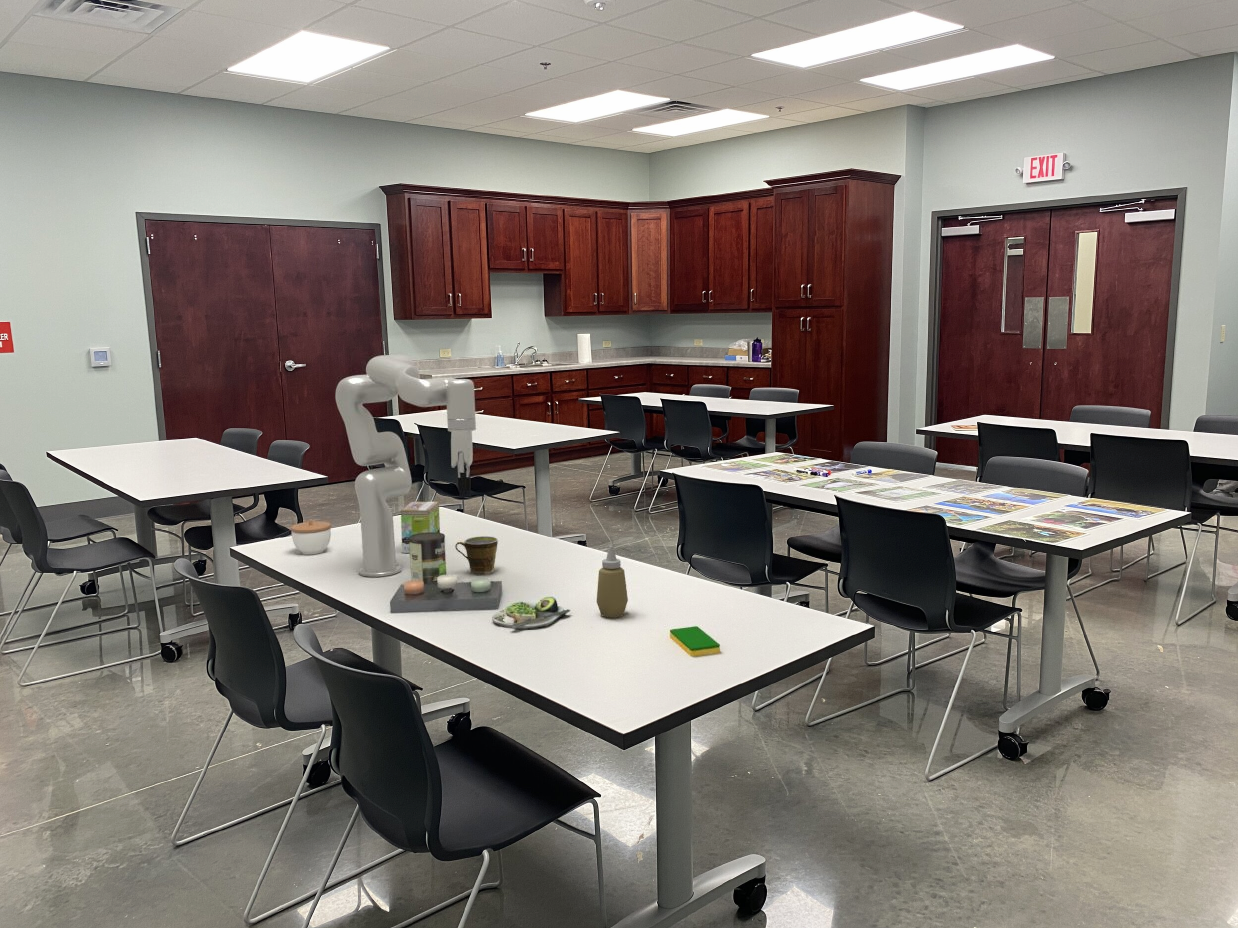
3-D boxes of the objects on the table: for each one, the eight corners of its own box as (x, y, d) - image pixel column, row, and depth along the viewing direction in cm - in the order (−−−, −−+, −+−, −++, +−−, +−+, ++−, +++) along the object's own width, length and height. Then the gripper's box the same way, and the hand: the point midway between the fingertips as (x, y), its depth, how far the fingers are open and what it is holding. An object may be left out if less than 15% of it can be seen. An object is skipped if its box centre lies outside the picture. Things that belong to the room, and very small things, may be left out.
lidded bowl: (317, 545, 318) (314, 514, 317) (340, 550, 311) (338, 518, 309) (284, 553, 308) (282, 521, 306) (308, 558, 301) (305, 525, 299)
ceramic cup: (502, 567, 285) (501, 536, 283) (494, 576, 275) (493, 544, 273) (461, 567, 286) (459, 536, 285) (452, 576, 276) (450, 543, 275)
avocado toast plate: (542, 637, 223) (541, 619, 222) (477, 629, 230) (477, 611, 229) (575, 613, 241) (575, 596, 240) (514, 606, 247) (514, 589, 247)
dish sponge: (691, 658, 208) (691, 648, 207) (669, 638, 221) (669, 629, 220) (720, 654, 210) (720, 644, 209) (697, 635, 223) (697, 625, 222)
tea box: (432, 553, 305) (429, 509, 302) (401, 553, 305) (399, 509, 303) (441, 542, 320) (439, 500, 317) (412, 542, 320) (409, 500, 317)
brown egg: (406, 599, 254) (405, 580, 253) (426, 599, 254) (424, 579, 253) (403, 605, 249) (402, 586, 248) (423, 604, 249) (421, 585, 248)
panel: (401, 594, 259) (401, 584, 259) (502, 591, 260) (501, 581, 260) (390, 612, 243) (389, 601, 243) (497, 609, 245) (497, 598, 244)
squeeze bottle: (605, 621, 233) (603, 552, 230) (591, 612, 240) (589, 545, 237) (633, 616, 236) (632, 547, 233) (619, 607, 243) (617, 541, 241)
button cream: (439, 593, 254) (438, 574, 253) (458, 593, 254) (457, 574, 253) (436, 599, 249) (435, 580, 248) (456, 598, 249) (455, 579, 248)
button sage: (472, 597, 255) (472, 578, 254) (491, 596, 255) (491, 577, 254) (470, 603, 249) (470, 583, 249) (490, 602, 250) (489, 583, 249)
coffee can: (452, 578, 274) (450, 532, 272) (439, 588, 264) (436, 540, 262) (420, 577, 276) (417, 531, 274) (405, 587, 266) (402, 539, 264)
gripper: (451, 422, 259) (454, 486, 262) (444, 428, 244) (447, 496, 247) (478, 421, 259) (481, 486, 262) (472, 427, 244) (475, 496, 247)
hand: (464, 491), depth 254 cm, fingers closed
